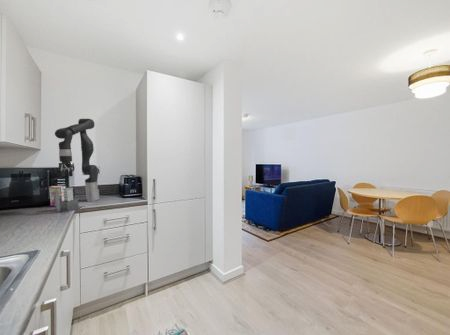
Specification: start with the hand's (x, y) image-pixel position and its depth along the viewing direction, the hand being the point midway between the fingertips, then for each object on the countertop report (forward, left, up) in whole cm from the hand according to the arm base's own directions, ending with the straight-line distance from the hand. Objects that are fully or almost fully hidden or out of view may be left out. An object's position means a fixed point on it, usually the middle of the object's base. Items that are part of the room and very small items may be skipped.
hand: (67, 176), depth 151 cm
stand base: (0, 0, -26) cm, 26 cm away
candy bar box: (-5, -22, -26) cm, 35 cm away
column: (0, 0, -25) cm, 25 cm away
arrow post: (+7, 0, -26) cm, 27 cm away
